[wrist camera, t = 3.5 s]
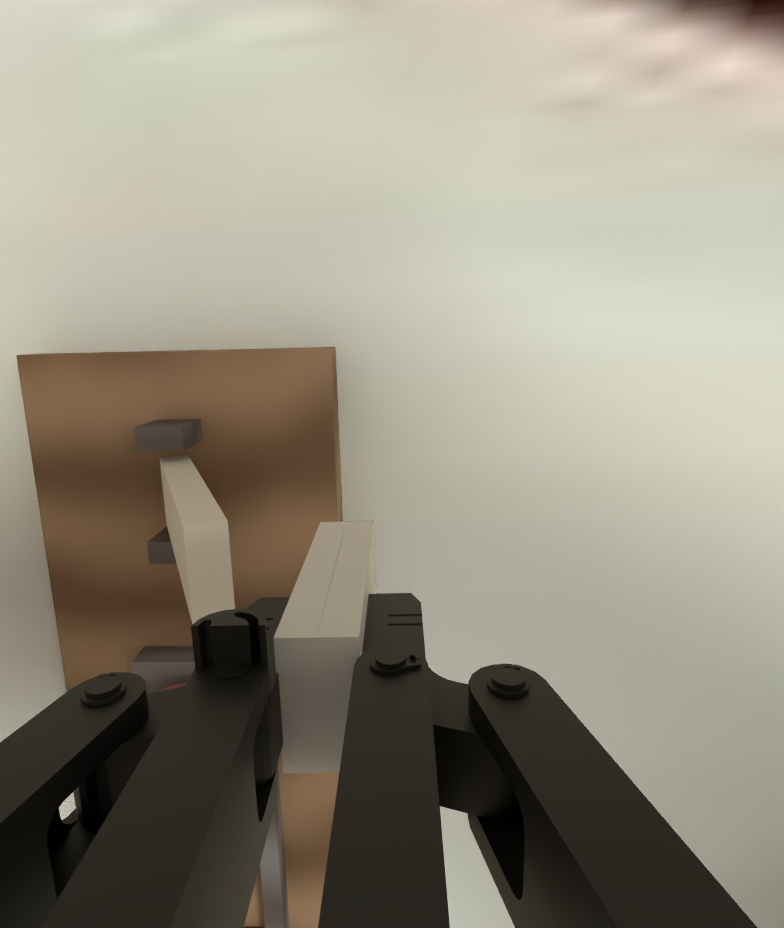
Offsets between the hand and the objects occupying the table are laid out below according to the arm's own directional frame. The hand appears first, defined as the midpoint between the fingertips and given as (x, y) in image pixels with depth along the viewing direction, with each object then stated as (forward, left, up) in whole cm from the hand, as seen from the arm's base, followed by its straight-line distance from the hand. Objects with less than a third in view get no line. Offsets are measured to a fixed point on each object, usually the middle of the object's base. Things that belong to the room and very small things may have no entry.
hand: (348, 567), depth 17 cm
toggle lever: (+6, -7, -10) cm, 13 cm away
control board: (+15, +1, -13) cm, 20 cm away
